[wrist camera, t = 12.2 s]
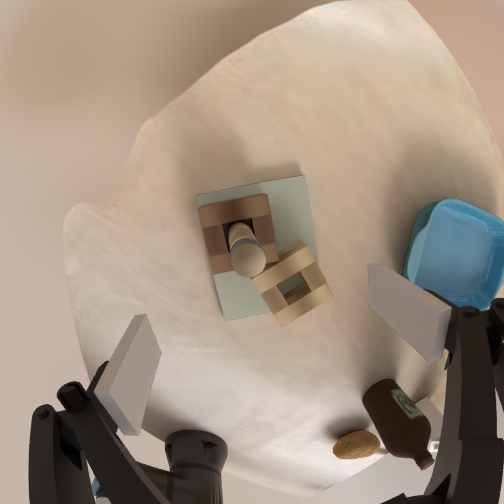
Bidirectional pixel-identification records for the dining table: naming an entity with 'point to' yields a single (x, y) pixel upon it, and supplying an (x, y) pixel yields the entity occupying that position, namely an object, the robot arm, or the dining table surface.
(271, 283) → the light wooden square frame
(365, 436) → the potato
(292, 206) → the pale green flat mat
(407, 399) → the olive oil
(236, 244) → the banded wooden cylinder
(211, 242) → the brown square wooden frame
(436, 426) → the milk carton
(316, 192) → the dining table surface
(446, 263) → the casserole dish
